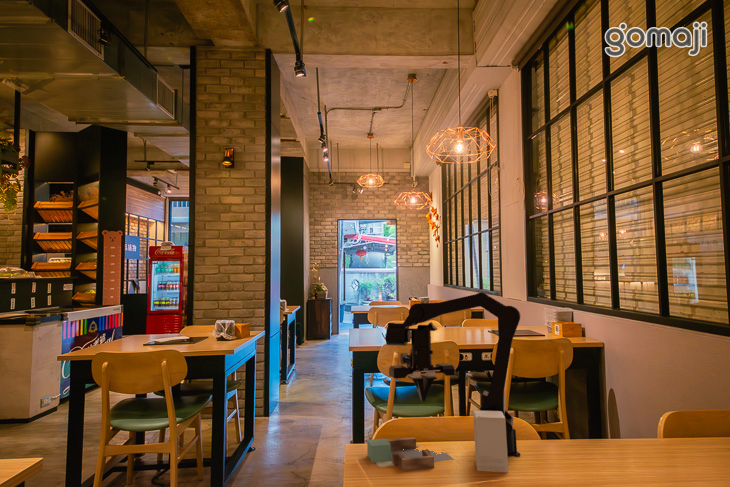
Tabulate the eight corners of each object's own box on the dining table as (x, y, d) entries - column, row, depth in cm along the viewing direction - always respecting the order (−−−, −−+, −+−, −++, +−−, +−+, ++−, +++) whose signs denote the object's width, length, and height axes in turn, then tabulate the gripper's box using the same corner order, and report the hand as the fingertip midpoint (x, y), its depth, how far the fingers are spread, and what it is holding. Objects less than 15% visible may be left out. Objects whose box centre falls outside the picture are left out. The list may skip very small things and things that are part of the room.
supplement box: (509, 474, 101) (506, 418, 103) (476, 472, 103) (474, 416, 104) (505, 462, 108) (502, 410, 110) (475, 461, 110) (472, 409, 111)
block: (385, 454, 115) (385, 438, 115) (391, 460, 110) (390, 444, 110) (367, 455, 113) (367, 440, 114) (372, 462, 109) (371, 446, 109)
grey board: (436, 445, 122) (436, 444, 122) (454, 460, 110) (453, 459, 110) (367, 452, 117) (367, 450, 117) (378, 468, 106) (378, 466, 106)
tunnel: (414, 447, 120) (414, 437, 121) (436, 468, 105) (435, 456, 105) (381, 450, 118) (381, 440, 119) (399, 472, 103) (398, 460, 103)
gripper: (440, 342, 136) (442, 393, 134) (383, 344, 132) (384, 397, 130) (455, 346, 125) (457, 401, 123) (393, 348, 121) (395, 405, 119)
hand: (422, 401), depth 124 cm, fingers closed
